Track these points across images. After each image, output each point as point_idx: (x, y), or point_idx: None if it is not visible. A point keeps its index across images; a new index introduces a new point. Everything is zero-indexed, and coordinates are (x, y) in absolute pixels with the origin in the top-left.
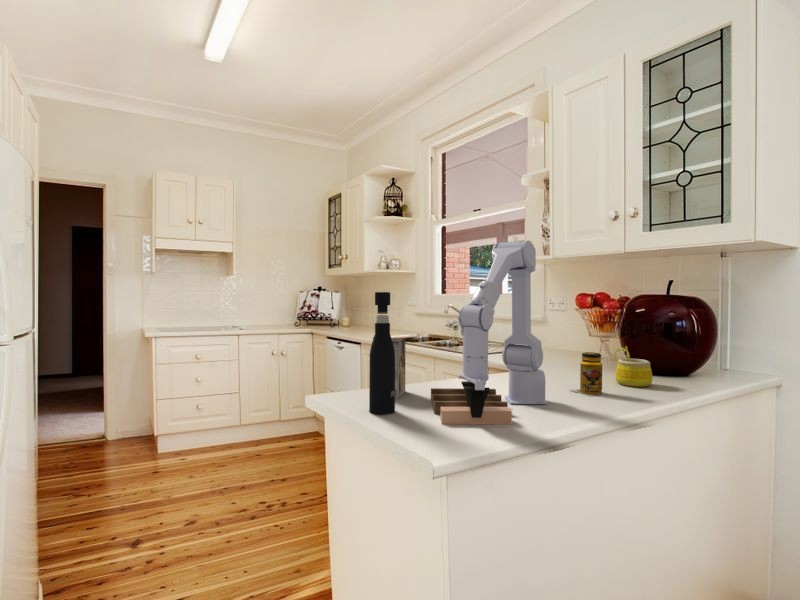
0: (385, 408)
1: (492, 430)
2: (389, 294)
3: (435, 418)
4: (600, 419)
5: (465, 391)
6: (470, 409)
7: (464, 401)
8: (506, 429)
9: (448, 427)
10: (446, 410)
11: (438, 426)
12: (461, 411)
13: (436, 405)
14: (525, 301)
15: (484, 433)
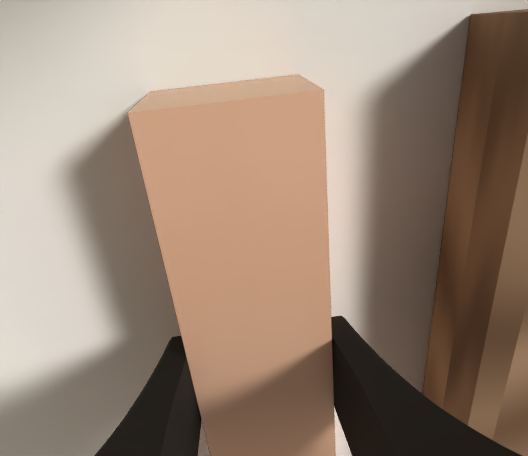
0: None
1: (85, 399)
2: None
3: (325, 28)
4: None
5: (389, 438)
6: (160, 372)
7: (513, 309)
8: None
9: (66, 149)
10: (164, 162)
11: (69, 62)
12: (171, 293)
13: (518, 36)
14: None
15: (4, 365)
